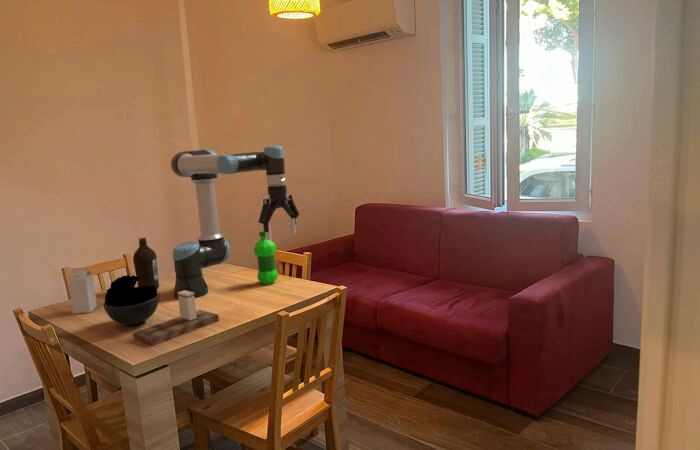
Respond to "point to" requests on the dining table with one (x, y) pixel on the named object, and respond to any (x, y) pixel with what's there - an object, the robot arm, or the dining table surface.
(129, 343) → the dining table surface
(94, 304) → the milk carton
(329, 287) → the dining table surface
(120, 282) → the coal bowl
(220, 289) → the dining table surface
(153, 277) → the olive oil
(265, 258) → the plastic bottle
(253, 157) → the robot arm
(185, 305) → the fader tab
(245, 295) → the dining table surface
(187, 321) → the dark brown wooden board
